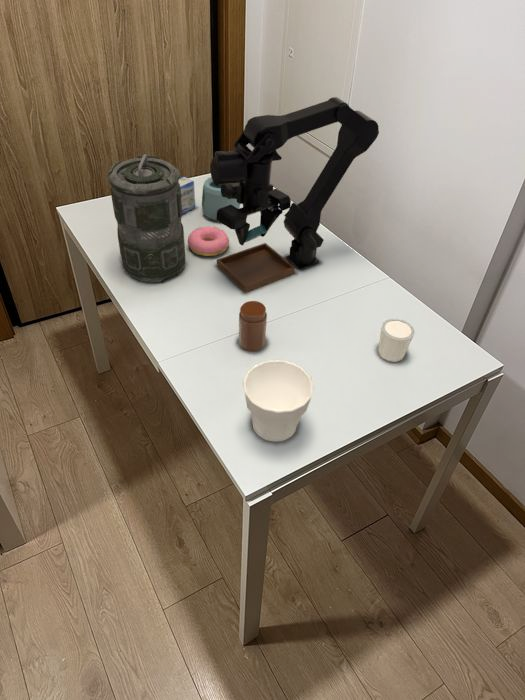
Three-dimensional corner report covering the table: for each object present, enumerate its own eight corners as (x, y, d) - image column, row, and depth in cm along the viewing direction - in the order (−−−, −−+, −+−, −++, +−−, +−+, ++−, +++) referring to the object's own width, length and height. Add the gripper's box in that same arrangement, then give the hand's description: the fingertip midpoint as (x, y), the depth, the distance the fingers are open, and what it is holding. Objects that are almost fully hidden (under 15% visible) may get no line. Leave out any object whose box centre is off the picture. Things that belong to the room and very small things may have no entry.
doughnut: (219, 233, 148) (219, 219, 145) (235, 254, 141) (235, 240, 138) (182, 241, 145) (181, 227, 142) (196, 262, 138) (196, 249, 135)
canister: (128, 247, 141) (112, 143, 122) (188, 249, 142) (182, 145, 123) (117, 283, 130) (98, 174, 111) (182, 285, 131) (174, 177, 111)
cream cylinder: (400, 368, 113) (407, 344, 108) (370, 355, 116) (376, 331, 111) (411, 349, 118) (419, 326, 113) (382, 337, 120) (389, 314, 115)
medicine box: (176, 218, 153) (174, 190, 147) (165, 212, 155) (163, 184, 149) (195, 208, 158) (194, 180, 152) (185, 202, 160) (183, 175, 154)
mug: (201, 198, 162) (200, 166, 155) (237, 197, 163) (237, 166, 156) (202, 224, 151) (201, 191, 144) (241, 223, 153) (241, 191, 146)
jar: (255, 330, 120) (257, 296, 113) (270, 345, 117) (272, 311, 110) (233, 339, 117) (234, 305, 111) (248, 355, 114) (249, 321, 107)
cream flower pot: (243, 397, 106) (244, 357, 98) (306, 400, 106) (312, 361, 98) (239, 449, 97) (240, 410, 89) (308, 452, 97) (315, 414, 89)
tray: (265, 249, 144) (265, 242, 142) (294, 273, 136) (295, 267, 135) (216, 266, 137) (216, 259, 136) (245, 293, 130) (245, 286, 128)
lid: (258, 237, 132) (255, 230, 132) (272, 229, 126) (269, 221, 126) (237, 245, 129) (234, 239, 128) (250, 237, 123) (247, 230, 123)
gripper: (262, 156, 127) (257, 215, 138) (201, 175, 117) (200, 237, 128) (296, 174, 122) (287, 234, 132) (234, 195, 112) (231, 258, 122)
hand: (251, 240), depth 129 cm, fingers closed on lid, 6 cm apart
